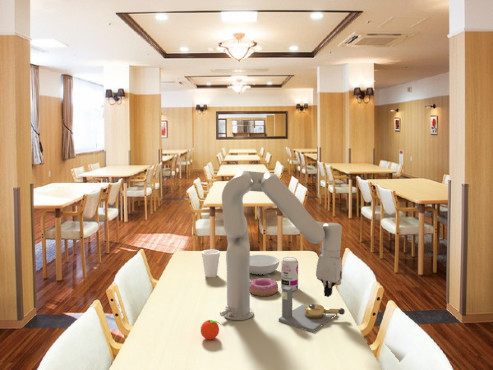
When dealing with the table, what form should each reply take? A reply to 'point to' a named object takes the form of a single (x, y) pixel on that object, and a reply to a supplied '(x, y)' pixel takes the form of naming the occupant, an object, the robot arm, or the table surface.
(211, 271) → the foam cup
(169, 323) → the table surface
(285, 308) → the stand
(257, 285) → the donut
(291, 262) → the white soda can
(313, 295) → the table surface
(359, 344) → the table surface
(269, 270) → the serving bowl
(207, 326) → the clementine
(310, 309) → the gold pan with handle
